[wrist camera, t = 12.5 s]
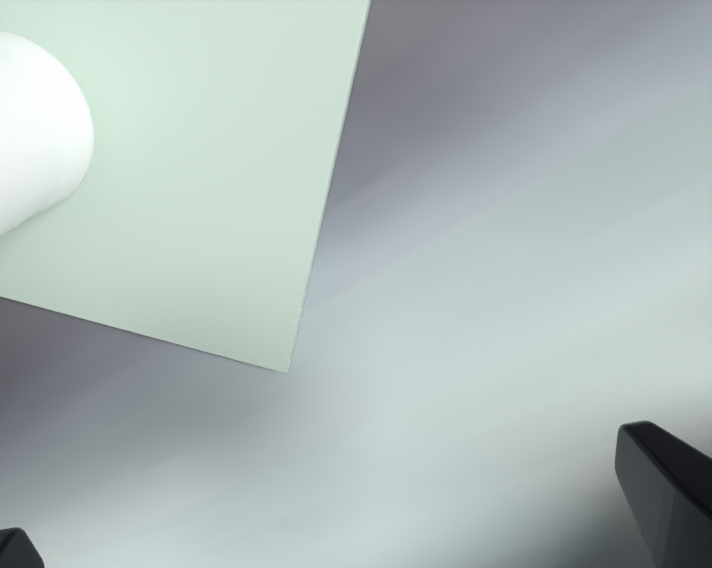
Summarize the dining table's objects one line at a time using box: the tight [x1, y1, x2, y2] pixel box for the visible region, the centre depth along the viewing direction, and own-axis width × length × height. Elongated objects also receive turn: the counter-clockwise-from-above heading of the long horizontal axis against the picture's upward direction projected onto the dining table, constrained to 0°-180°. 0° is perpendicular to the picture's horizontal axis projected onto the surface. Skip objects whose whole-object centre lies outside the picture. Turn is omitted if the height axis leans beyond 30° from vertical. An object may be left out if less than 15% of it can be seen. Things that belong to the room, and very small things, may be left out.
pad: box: [0, 0, 371, 373], centre depth 19 cm, size 20×14×1 cm
